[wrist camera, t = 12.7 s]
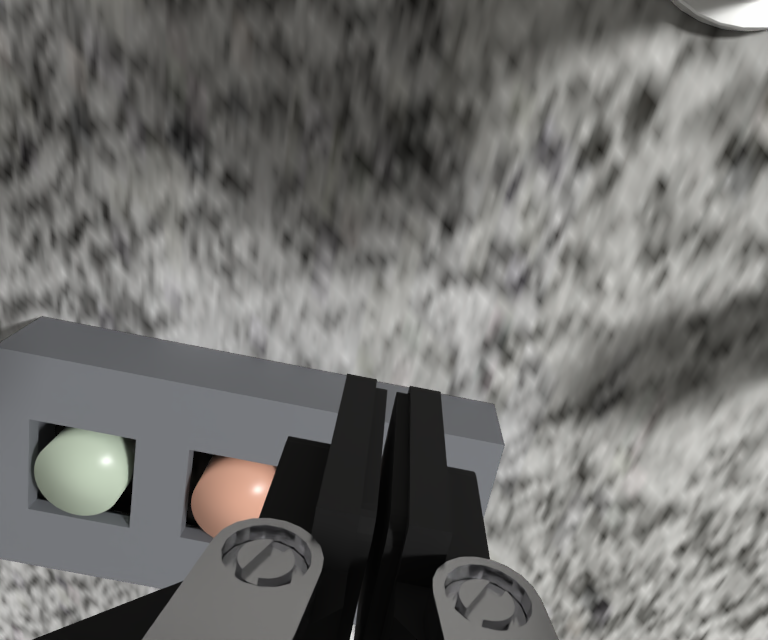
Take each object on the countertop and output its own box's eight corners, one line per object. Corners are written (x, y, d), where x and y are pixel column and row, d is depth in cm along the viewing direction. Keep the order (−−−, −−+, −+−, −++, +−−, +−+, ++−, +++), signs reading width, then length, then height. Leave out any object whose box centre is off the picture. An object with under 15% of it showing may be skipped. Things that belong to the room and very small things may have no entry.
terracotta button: (294, 446, 41) (284, 479, 37) (283, 515, 42) (271, 551, 39) (213, 431, 41) (195, 462, 37) (205, 500, 42) (187, 535, 39)
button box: (494, 404, 41) (504, 445, 36) (444, 584, 46) (447, 641, 41) (42, 316, 40) (-7, 346, 36) (38, 508, 45) (-7, 557, 40)
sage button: (148, 419, 40) (124, 448, 37) (142, 488, 42) (119, 522, 39) (65, 403, 40) (34, 431, 37) (63, 473, 42) (33, 506, 39)
